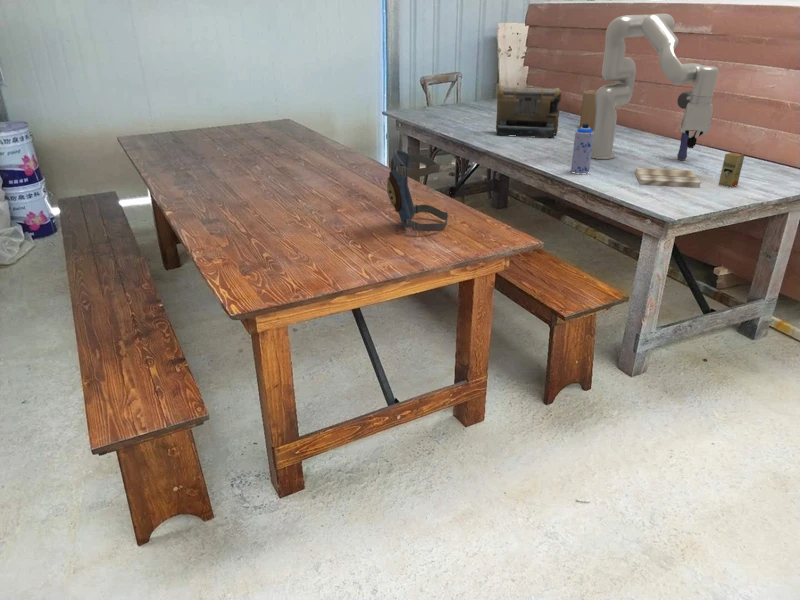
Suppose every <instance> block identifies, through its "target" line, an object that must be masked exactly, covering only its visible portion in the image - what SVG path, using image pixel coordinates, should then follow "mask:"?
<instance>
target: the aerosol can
mask: <svg viewBox="0 0 800 600" xmlns="http://www.w3.org/2000/svg"><path fill="white" fill-rule="evenodd" d="M588 126H589V124H583V127H581V128H580V127H578V128H577V129H576V130H575V133H574V135H575V136H574V143H573V150H572V159H571V161H572V162H571V167H570V168H571V169H570V172H571V171H572V172H575V173H588V172H589V171H590V169H591V160H592V158H591V154H592V146H593V138H594V131H593V130H592V129H591V128H590V127H588Z"/></svg>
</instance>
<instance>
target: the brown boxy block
mask: <svg viewBox="0 0 800 600" xmlns="http://www.w3.org/2000/svg"><path fill="white" fill-rule="evenodd" d="M496 94H497V102H496V121H495V123H496V125H495V129H496V136H502V135H516V136H535V137H534V138H543V137H548V138H549V137H553V138H555V136H557V134H558V129H559V116H560V109H559V108H560V107H559V103H560V102H562V101H561V100H562V90H561V89H560V88H559V87H556V88H538V87H537V88H535V87H505V86H503V85H500V86H499V87H498V89H497V93H496ZM554 133H555V134H554ZM516 136H515V137H516Z"/></svg>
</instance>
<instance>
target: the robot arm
mask: <svg viewBox="0 0 800 600" xmlns="http://www.w3.org/2000/svg"><path fill="white" fill-rule="evenodd" d="M674 19H675V18H673V16H672V15H671V14H668V13H653V14H652V13H651V14H629V15H621V16H618V17H615V18H614V19H612V21H610V22H609V24H608V26H607V28H606V31H605V42H604V43H605V46H604V53H603V61H602V67H601V76H602V79H603V81H604V80H605V81H606V82H615V83H611V84H610V83H609V84H605V85H602V86H600V87H599V88H598V89H596V90H597V92H596V94H595V120H594V128H593V131H594V138H593V146H592V154H591V159H594V158H596V160H612V159H614V158H616V154H615V153H614V152H613V148H614V141H615V134H616V126H617V119H618V114H617V109H616V107H619V106H624V105H626V104H628V103H629V102H630V101H631V98H632V97H633V92H634V86H635V81H636V76H637V75H636V74H637V67H636V63H635V61H634V60H633V59H632V58H631V57H628V56H625V55H626V49H627V48H626V42H625V38H639V37H645V38H646V40H647V41H648V42H649V44H650V45H651V46H652V48H653V49H654V50H655V52H656V53H657V54H658V63H659V67H660V70H661V71H662V73H663V74H664V76H665V77H666V78H667V80H668V81H669V83H671V84H673V85H675V86H682V85H689V84H690V85H692V84H693V87H692V90H693V91H692V90H691V91H692V94H691V96H687V100H690V103H688V104H687V107H686V109H684V113H683V115H682V119H681V123H680V128H679V132H680V133H682V132H683V133H686V134H687V136H688V140H687V145H688V149H690V148H691V149H694V147H695V146H696V144H697V139H699V137H701V136H702V135H705V134H709V132H710V129H711V125H712V118H713V110H714V105H713V104H712V102H713V97H714V93H715V89H716V84H717V79H718V76H719V68H718V67H716V66H714V65H713V66H712V65H703V64H700V63H697V62H696V63H695V62H692V63H691V62H690V63H681V61H680V60H679V59H678V57H677V56H676V53H675V51H674V50H675V49H676V47H678V45H679V38H678V36H677V35H675V33H674V32H673V31H674V29H675V26H676V25H675V23H676V22H675V20H674ZM693 131H694V134H693Z"/></svg>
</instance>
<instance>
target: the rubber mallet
mask: <svg viewBox="0 0 800 600" xmlns="http://www.w3.org/2000/svg"><path fill="white" fill-rule="evenodd" d="M692 91H693V89H692V90H688V91H684V92H681V93H680V94H679V96H678V97H677V106H678V107H679V108H680V109H683V110H685V109H686V107H687V104H688V103H690V100H687V96H691V94H692ZM687 140H688V136H687V134H686V133H683V132H681V136H680V145H679V149H678V153H677V160H678V161H679V160H680V161H685V160H686V159H687V158H688V149H689V148H688V145H687Z"/></svg>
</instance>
